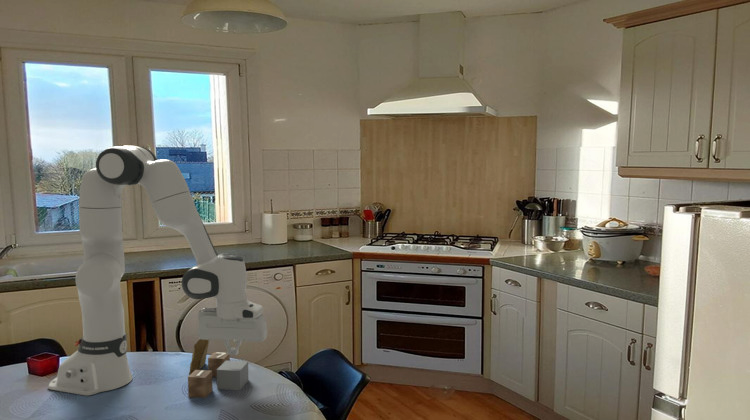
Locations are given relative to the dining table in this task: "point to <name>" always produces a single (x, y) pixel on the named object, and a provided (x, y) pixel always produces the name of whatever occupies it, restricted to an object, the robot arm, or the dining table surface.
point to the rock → (199, 355)
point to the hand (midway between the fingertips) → (233, 354)
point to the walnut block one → (200, 383)
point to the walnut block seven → (217, 361)
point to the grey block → (232, 375)
